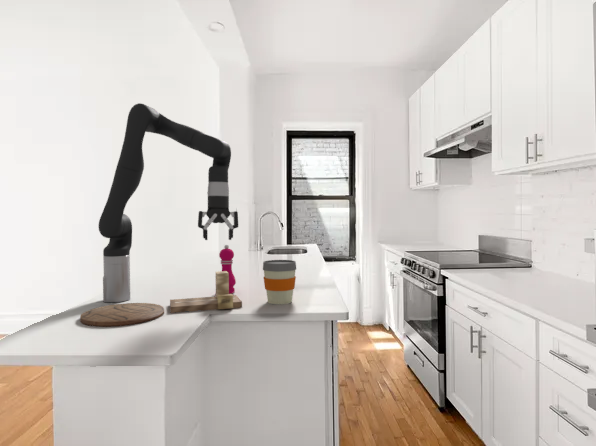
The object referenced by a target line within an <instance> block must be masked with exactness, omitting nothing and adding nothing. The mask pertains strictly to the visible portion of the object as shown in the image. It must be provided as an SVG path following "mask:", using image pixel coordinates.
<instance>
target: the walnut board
mask: <svg viewBox="0 0 596 446" xmlns="http://www.w3.org/2000/svg"><path fill="white" fill-rule="evenodd" d="M232 295H233V308H232V309H236V308H237V309H238V308H243V301H242V300H241V299H240V298H239V296H237V295H236V294H232ZM169 306H170V309H169V310H170V313H171V314H174V313H175V312H176V313H186V312H185V311H189V312H198V310H201V311H208V310H209V311H212V310H213V311H214V310H219V309H218V298H217V296H204V297H203V296H202V297H190V298H178V299H176V298H175V299H169ZM176 313H175V314H176Z"/></svg>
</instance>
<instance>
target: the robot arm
mask: <svg viewBox="0 0 596 446" xmlns="http://www.w3.org/2000/svg"><path fill="white" fill-rule="evenodd" d="M125 126H126V128H125V132H124V138H123V142H122V143H123V144H122V145H121V151H120V154H119V158H118V161H117V165H116V168H115V171H114V172H115V173H114V176H113V181H112V183H111V187H110V190H109V194H108V198H107V200H106V203H105V206H104V208H103V210H102V213H101V214H100V217H99V219H98V220H99V221H98V231H99V233H100V235H101V236H102V237H103V238H106V239H109V240H108V243H107V245H106V246H105V247H104V248H103V251H102V252H103V253H102V254H103V255H102V256H103V277H102V298H103V303H119V302H120V303H121V302H127V301H129V300H130V299H131V261H130V260H131V258H130V257H131V254H130V250H131V248H132V246H133V245H132V241H133V224H132V220H131V218H130V217H129V216H128V215H127V214H125V213H124V211H125V208H126V206H127V203H128V202H129V200H130V198H131V197H132V196H133V194H134V193H135V192H136V190H137V189H138V188H139V186H140V183H141V180H142V176H143V172H144V169H145V161H144V154H143V153H144V152H143V141H144V138H145V135H146V133H151V134H152V133H153V134H157V135H161V136H164V137H168V138H169V139H172V140H174V141H175V142H177V143H178V144H181V145H183V146H184V147H187V148H189V149H192V150H195V151H198V152H200V153H201V154H203V155H205V156H207V157H210V158H211V159H213V160H212V165H211V166H209V169H208V174H207V175H208V176H207V177H208V181H207V182H208V184H207V194H206V195H207V210H206V211H203V210H199V211H198V218H197V219H198V220H197V227H198V228H199V229H202V238H203V239H204V240H205V241H208V228H209V227H210V226H211V224H212V223H213V224H218V223H219V224H225V225H226V226H227V227H228V228H229V229H228V240H229V241H232V239H234V229H238V228H239V216H238V213H239V212H238V211H236V210H235V211H230V206H229V205H230V202H229V201H230V195H229V194H230V193H229V192H230V190H229V169H230V163H231V158H232V148H231V146H230V145H229V143H228V142H227V141H224V140H223V139H219V138H218V137H214V136H212V135H209V134H206V133H205V132H203V131H200V130H198V129H196V128H194V127H191V126H188V125H186V124H182V123H178V122H176V121H174V120H171V119H170V118H168V117H167V116H165V115H164V114H162V113H160V112H158V110H156V109H155V108H153V107H151V106H149V105H146V104H144V103H141V102H140V103H135V104H134V105H133V106H132V107H131V108H130V110H129V112H128V116H127V121H126V125H125ZM205 216H206V217H207V218H208V220H207V221H206V222H205V224H203V218H204V217H205ZM230 216H231V218H233V224H232V223H231V222H230V221H229V219H228V218H229V217H230Z"/></svg>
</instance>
